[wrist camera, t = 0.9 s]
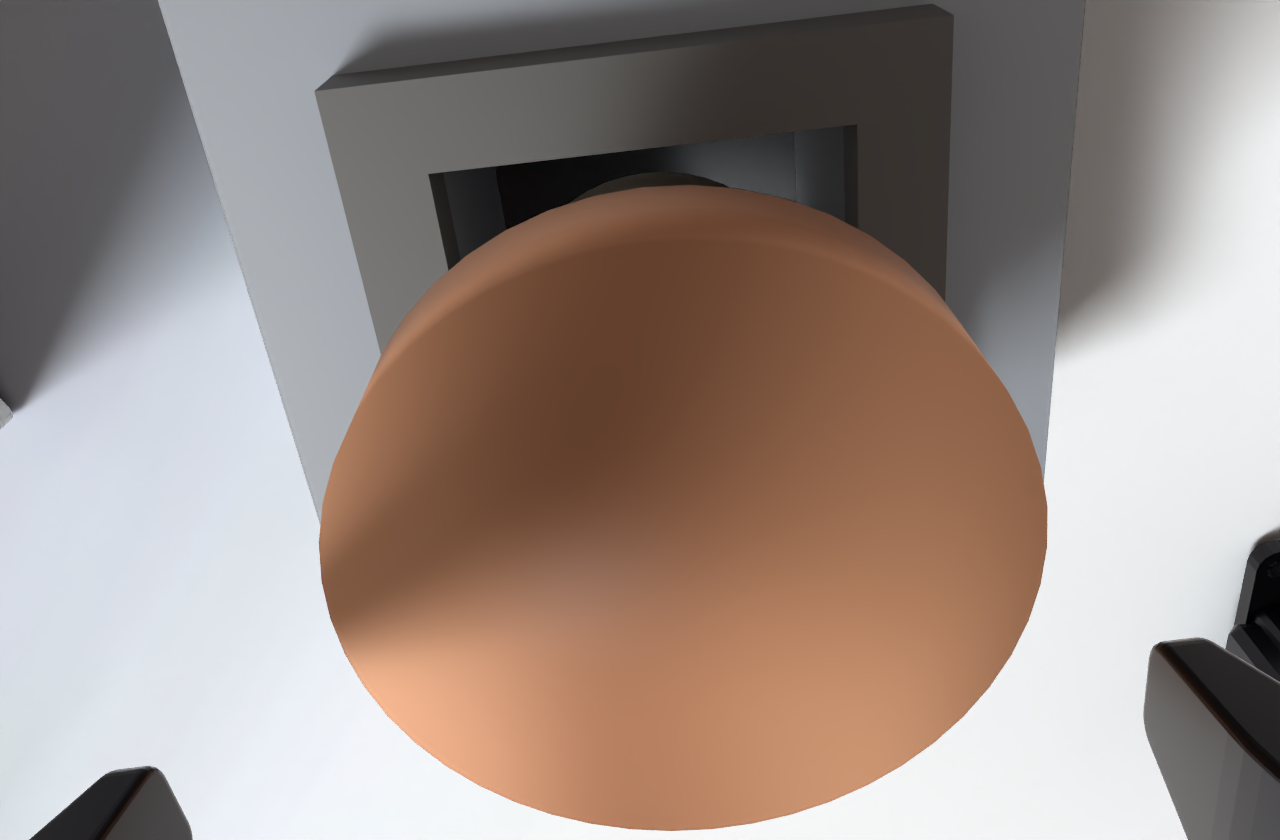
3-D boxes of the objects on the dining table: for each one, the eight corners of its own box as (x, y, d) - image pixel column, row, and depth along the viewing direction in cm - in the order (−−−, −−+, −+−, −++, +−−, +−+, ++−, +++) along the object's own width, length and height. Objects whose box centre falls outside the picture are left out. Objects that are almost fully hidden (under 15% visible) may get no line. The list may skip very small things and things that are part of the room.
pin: (894, 47, 14) (1078, 192, 9) (891, 487, 18) (1023, 799, 12) (377, 108, 14) (224, 289, 9) (473, 529, 18) (407, 857, 12)
